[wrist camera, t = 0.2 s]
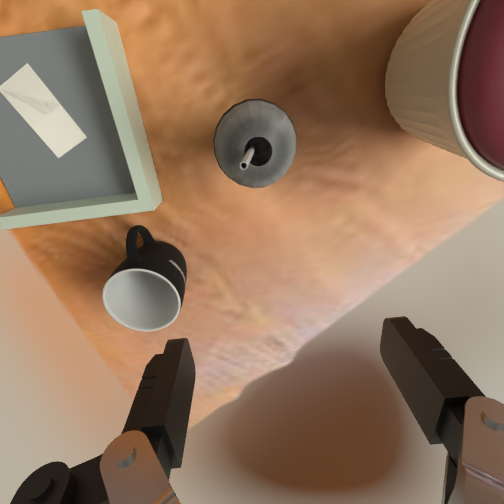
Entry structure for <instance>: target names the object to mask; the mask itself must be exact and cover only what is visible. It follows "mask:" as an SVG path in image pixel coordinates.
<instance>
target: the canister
mask: <svg viewBox="0 0 504 504" xmlns="http://www.w3.org/2000/svg"><path fill="white" fill-rule="evenodd" d="M385 77H386V80H385V85H384V86H385V97H386V99H387V106H388V107H389V109H390V114H391V115H392V116H393V117H394V119H395V122H396V123H398V124H399V125H400V127H401V128H402V129H403V130H405V131H407V132H408V133H409V134H410V135H412V136H414V137H416V138H419V139H421V140H423V141H425V142H427V143H430V144H432V145H434V146H436V147H439V148H441V149H444V150H446V151H449V152H451V153H454V154H456V155H459V156H461V157H464V158H466V159H468V160H469V161H470V162H471V163H472V164H473V165H474V166H475V167H476V168H477V169H479V170H480V171H482V172H483V173H485V174H486V175H488V176H490V177H492V178H495V179H497V180H500V181H504V0H431V1H429V2H428V3H427V4H426V5H425V6H424V7H423V8H422V9H421V10H420V11H419V12H418V13H417V14H416V15H415V16H414V17H413V19H412V20H411V22H410V23H409V24H408V25H407V26H406V27H405V28H404V30H403V32H402V34H401V36H400V37H399V38H398V39H397V41H396V45H395V47H394V49H393V50H392V52H391V57H390V60H389V62H388V63H387V71H386V74H385Z"/></svg>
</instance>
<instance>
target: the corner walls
mask: <svg viewBox="0 0 504 504" xmlns="http://www.w3.org/2000/svg"><path fill="white" fill-rule="evenodd" d="M81 12H82V15H83V18H84V22H85V25H86V28H87V32H88V35H89V38H90V41H91V45H92V48H93V51H94V55H95V58H96V61H97V65H98V68H99V71H100V75H101V78H102V81H103V84H104V88H105V91H106V94H107V98H108V101H109V104H110V108H111V111H112V114H113V118H114V121H115V124H116V127H117V131H118V134H119V137H120V141H121V144H122V147H123V151H124V154H125V157H126V161H127V164H128V167H129V170H130V174H131V177H132V180H133V184H134V187H135V190H136V193H128V194H120V195H112V196H105V197H97V198H89V199H81V200H74V201H66V202H58V203H50V204H43V205H35V206H27V207H19V208H15V209H12V210H10V211H8V212H6V213H3V214H1V215H0V230H4V229H12V228H20V227H28V226H36V225H43V224H51V223H59V222H67V221H75V220H83V219H90V218H98V217H106V216H114V215H122V214H129V213H137V212H145V211H153V210H155V209H156V208H157V207H158V205H159V204H160V203H161V202H162V201H163V200H162V198H163V197H161V196H162V193H161V189H160V185H159V182H158V178H157V174H156V170H155V166H154V163H153V159H152V155H151V151H150V147H149V144H148V140H147V136H146V132H145V128H144V125H143V121H142V117H141V113H140V109H139V106H138V102H137V98H136V94H135V90H134V87H133V83H132V79H131V75H130V71H129V67H128V64H127V60H126V56H125V52H124V48H123V45H122V41H121V37H120V33H119V29H118V26H117V22H115V21H114V20H112V19H111V18H110V17H108V16H107V15H105V14H104V13H103V12H101V11H100V10H98V9H94V10H87V11H81Z"/></svg>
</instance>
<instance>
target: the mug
mask: <svg viewBox="0 0 504 504" xmlns="http://www.w3.org/2000/svg"><path fill="white" fill-rule="evenodd" d="M138 232H139V233H140V234H141V236H142V238H143V240H144V244H143V246H142V247H140V248H139V249H137V243H136V242H137V234H138ZM126 251H127V259H126V260H124V261H123V262H122V263H121V265H120V266H119V267H118V268H117V269H116V270H115V271H114V272H113V273H112V275H111V276H110V277H109V279H108V280H107V282H106V283H105V285H104V288H103V292H102V299H103V304H104V306H105V309H106V310H107V312H108V313H109V315H110V316H111V317H112V318H113V319H114V320H115V321H117V322H118V323H120V324H121V325H123V326H125V327H127V328H130V329H133V330H138V331H155V330H159V329H162V328H165V327H167V326H168V325H170V324H171V323H172V322H173V321H174V320H175V319H176V318H177V316H178V314H179V312H180V309H181V306H182V302H183V298H184V293H185V287H186V276H187V270H186V262H185V259H184V257H183V255H182V253H181V252H180V251H179V250H178V249H177V248H176V247H174V246H173V245H171V244H169V243H165V242H156V241H155V240H154V239H153V237H152V236H151V234H150V232H149V231H148V229H147V228H145V227H144V226H141V225H137V226H134V227H132V228H131V229H130V230H129V232H128V234H127V238H126Z"/></svg>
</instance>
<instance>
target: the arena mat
mask: <svg viewBox="0 0 504 504" xmlns="http://www.w3.org/2000/svg"><path fill="white" fill-rule="evenodd" d="M0 177H1V179H2V181H3V183H4V185H5V187H6V189H7V191H8V193H9V195H10V197H11V199H12V201H13V203H14V205H15V207H16V208H19V207H27V206H35V205H43V204H50V203H58V202H66V201H74V200H81V199H89V198H97V197H105V196H112V195H120V194H128V193H136V190H135V187H134V184H133V180H132V177H131V174H130V170H129V167H128V164H127V161H126V157H125V154H124V151H123V147H122V144H121V141H120V137H119V134H118V131H117V127H116V124H115V121H114V118H113V114H112V111H111V108H110V104H109V101H108V98H107V94H106V91H105V88H104V84H103V81H102V78H101V75H100V71H99V68H98V65H97V61H96V58H95V55H94V51H93V48H92V45H91V41H90V38H89V35H88V32H87V28H86V26H80V27H72V28H65V29H58V30H50V31H43V32H36V33H29V34H21V35H14V36H7V37H0ZM161 197H162V196H161ZM162 200H163V198H162Z"/></svg>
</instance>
